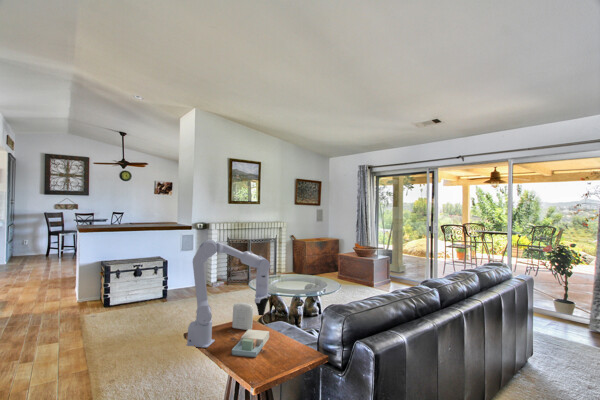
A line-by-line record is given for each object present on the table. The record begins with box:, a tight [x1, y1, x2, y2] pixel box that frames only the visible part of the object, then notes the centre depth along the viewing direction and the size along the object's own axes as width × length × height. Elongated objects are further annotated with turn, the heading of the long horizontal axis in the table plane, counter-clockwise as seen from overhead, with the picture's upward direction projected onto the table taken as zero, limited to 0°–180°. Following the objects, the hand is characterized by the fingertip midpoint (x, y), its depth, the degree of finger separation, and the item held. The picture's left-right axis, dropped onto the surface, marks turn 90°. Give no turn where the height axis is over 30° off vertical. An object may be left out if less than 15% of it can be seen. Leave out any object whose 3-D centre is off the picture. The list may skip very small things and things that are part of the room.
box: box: [231, 339, 264, 358], centre depth 129 cm, size 10×10×2 cm
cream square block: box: [240, 329, 270, 347], centre depth 139 cm, size 10×10×3 cm
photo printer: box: [231, 301, 254, 331], centre depth 155 cm, size 10×4×12 cm, turn 75°
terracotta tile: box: [248, 338, 257, 349], centre depth 132 cm, size 4×4×2 cm
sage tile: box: [242, 338, 254, 351], centre depth 129 cm, size 4×4×2 cm
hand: (261, 315), depth 143 cm, fingers closed
